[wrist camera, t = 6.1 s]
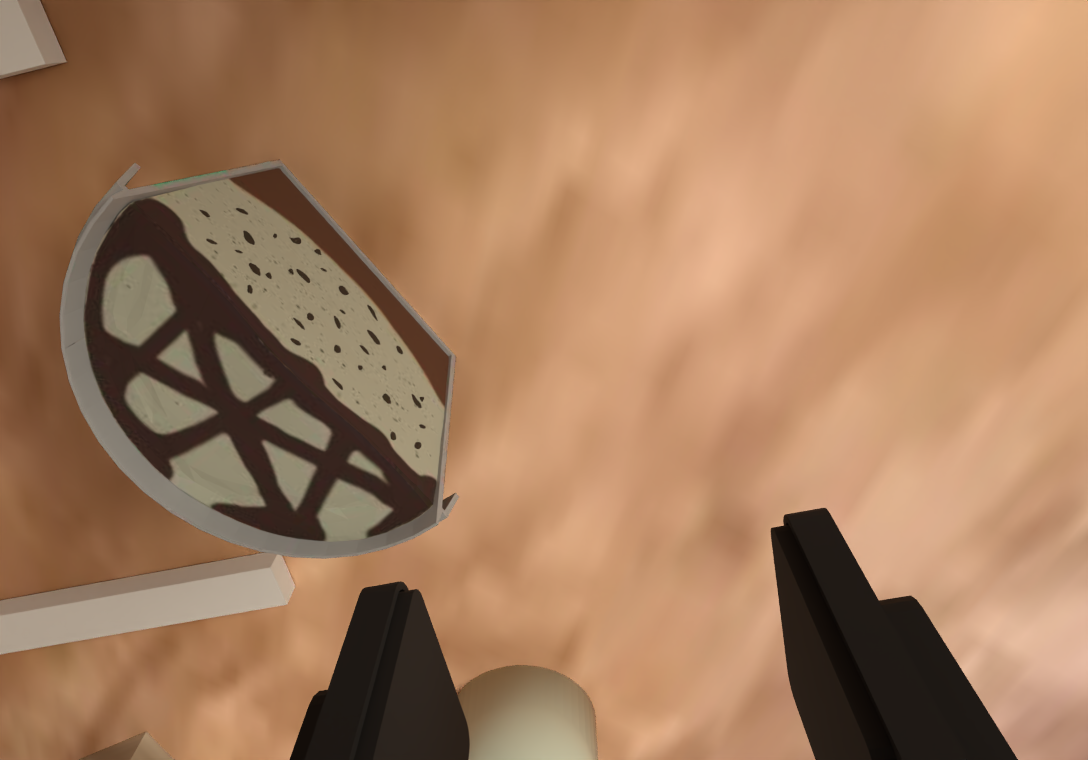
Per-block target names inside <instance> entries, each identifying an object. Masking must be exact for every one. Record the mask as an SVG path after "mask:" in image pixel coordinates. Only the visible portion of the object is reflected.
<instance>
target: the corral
mask: <svg viewBox="0 0 1088 760" xmlns="http://www.w3.org/2000/svg"><path fill="white" fill-rule="evenodd" d="M65 62H67V61H66V59H65V57H64V54H63V52H62V50H61V47H60V45H59V43H58V41H57V38H56V36H55V34H54V31H53V29H52V27H51V25H50V22H49V20H48V18H47V15H46V13H45V11H44V9H43V6H42V4H41V2H40V0H0V79H2V78H6V77H10V76H14V75H18V74H22V73H26V72H30V71H34V70H38V69H42V68H45V67H49V66H53V65H57V64H61V63H65ZM294 588H295V584H294V582H293V580H292V577H291V575H290V573H289V570H288V568H287V566H286V564H285V561H284V559H283V557H282V555H277V554H271V553H259V554H254V555H248V556H243V557H237V558H232V559H226V560H221V561H215V562H210V563H204V564H199V565H193V566H188V567H182V568H177V569H171V570H166V571H160V572H155V573H149V574H143V575H138V576H132V577H127V578H121V579H116V580H110V581H105V582H99V583H94V584H88V585H83V586H77V587H72V588H66V589H61V590H55V591H50V592H44V593H39V594H33V595H28V596H22V597H17V598H11V599H5V600H0V654H5V653H11V652H17V651H23V650H28V649H34V648H40V647H46V646H52V645H57V644H63V643H69V642H75V641H80V640H86V639H92V638H98V637H103V636H109V635H115V634H121V633H126V632H132V631H138V630H144V629H149V628H155V627H161V626H167V625H172V624H178V623H184V622H190V621H195V620H201V619H207V618H213V617H218V616H224V615H230V614H236V613H241V612H247V611H253V610H259V609H264V608H270V607H276V606H282V605H287V604H288V601H289V599H290V597H291V595H292V593H293V590H294Z"/></svg>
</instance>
